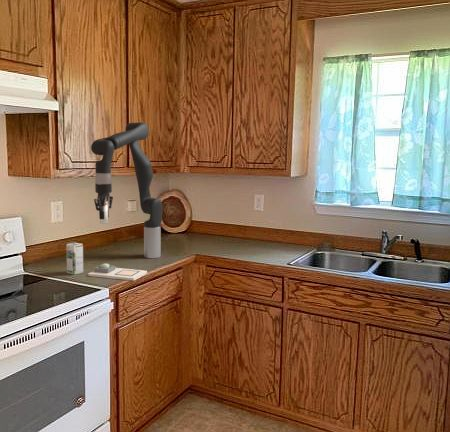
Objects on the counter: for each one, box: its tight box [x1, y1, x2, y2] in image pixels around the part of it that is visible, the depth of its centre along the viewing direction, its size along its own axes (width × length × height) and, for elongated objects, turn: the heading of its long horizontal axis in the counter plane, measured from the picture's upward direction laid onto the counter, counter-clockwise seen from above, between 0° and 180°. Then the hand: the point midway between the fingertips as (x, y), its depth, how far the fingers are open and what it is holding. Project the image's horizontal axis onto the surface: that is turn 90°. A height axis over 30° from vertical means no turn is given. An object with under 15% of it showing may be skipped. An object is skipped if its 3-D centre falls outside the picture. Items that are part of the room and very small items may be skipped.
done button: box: [100, 263, 110, 268], centre depth 229 cm, size 4×4×3 cm
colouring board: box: [87, 264, 148, 282], centre depth 227 cm, size 14×24×3 cm, turn 74°
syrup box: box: [66, 242, 84, 275], centre depth 228 cm, size 6×6×14 cm
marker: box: [99, 201, 109, 224], centre depth 225 cm, size 4×4×10 cm
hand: (104, 218), depth 225 cm, fingers closed on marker, 3 cm apart
